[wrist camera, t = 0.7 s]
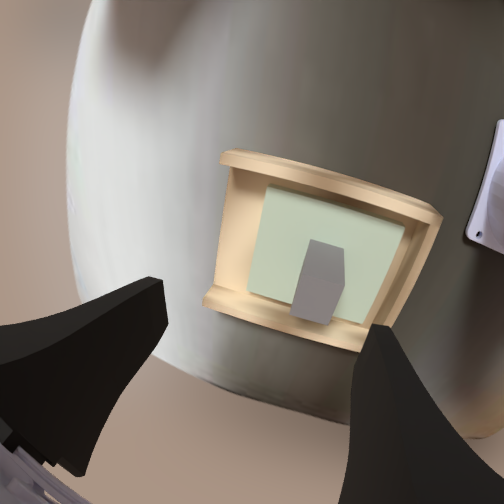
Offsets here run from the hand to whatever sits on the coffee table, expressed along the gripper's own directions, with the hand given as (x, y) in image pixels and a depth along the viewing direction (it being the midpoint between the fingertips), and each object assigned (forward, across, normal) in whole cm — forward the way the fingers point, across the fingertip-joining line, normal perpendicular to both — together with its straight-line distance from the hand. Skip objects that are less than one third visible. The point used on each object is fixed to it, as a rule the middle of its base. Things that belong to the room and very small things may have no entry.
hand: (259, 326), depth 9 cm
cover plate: (+9, -2, +1) cm, 9 cm away
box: (+9, -1, +1) cm, 10 cm away
